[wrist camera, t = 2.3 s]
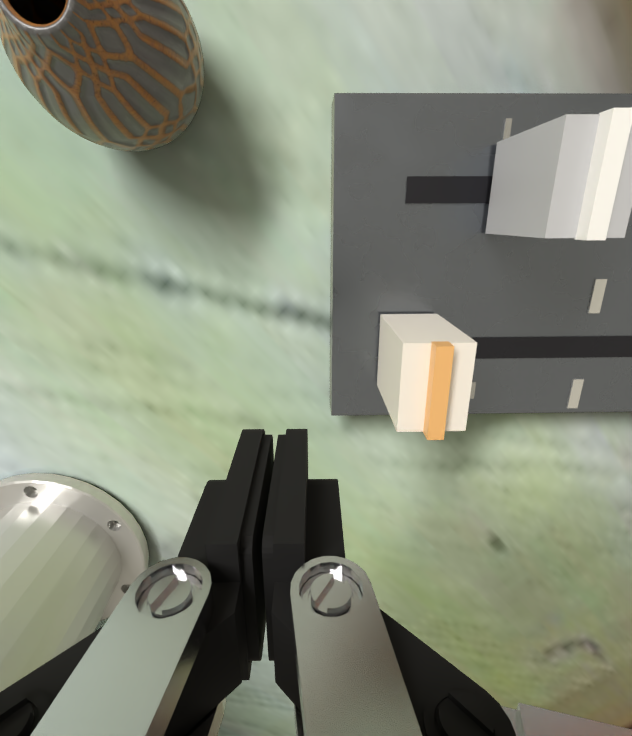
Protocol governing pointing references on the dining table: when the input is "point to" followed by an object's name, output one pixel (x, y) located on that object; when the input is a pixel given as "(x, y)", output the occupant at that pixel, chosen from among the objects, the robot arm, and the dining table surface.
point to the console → (468, 256)
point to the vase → (108, 66)
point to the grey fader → (565, 179)
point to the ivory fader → (425, 373)
